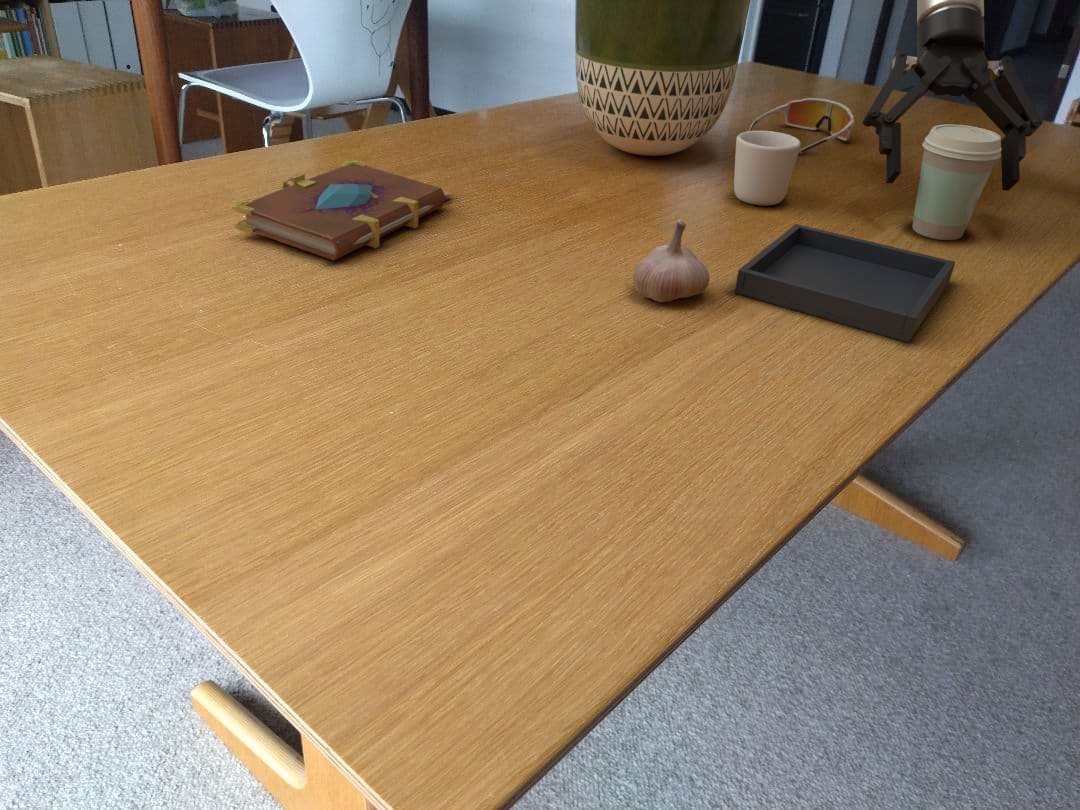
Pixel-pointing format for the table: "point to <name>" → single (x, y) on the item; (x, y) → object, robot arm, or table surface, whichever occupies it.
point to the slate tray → (847, 280)
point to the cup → (764, 166)
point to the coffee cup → (953, 178)
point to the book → (339, 209)
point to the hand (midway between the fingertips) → (951, 182)
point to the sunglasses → (816, 118)
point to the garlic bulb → (670, 271)
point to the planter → (656, 68)
